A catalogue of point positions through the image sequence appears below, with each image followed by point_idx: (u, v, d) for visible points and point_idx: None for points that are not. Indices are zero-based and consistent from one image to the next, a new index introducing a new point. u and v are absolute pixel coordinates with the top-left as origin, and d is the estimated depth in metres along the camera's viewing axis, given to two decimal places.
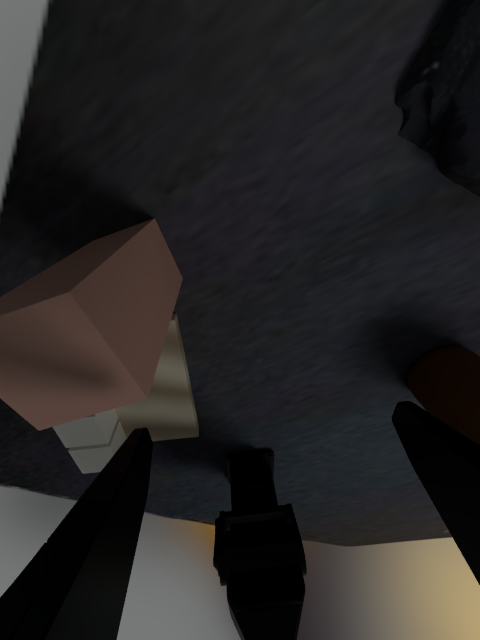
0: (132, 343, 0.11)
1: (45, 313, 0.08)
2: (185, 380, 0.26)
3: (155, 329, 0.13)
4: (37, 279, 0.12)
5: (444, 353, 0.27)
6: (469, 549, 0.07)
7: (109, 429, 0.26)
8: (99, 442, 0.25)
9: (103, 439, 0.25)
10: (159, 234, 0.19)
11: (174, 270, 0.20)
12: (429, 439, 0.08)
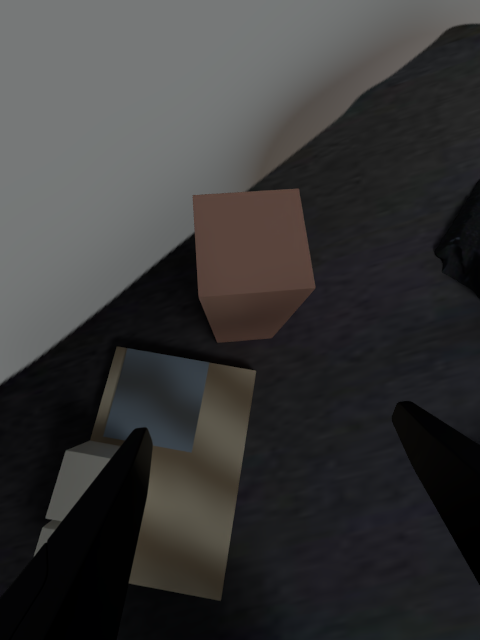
0: None
1: (276, 197, 0.12)
2: (240, 460, 0.20)
3: None
4: None
5: None
6: (469, 549, 0.07)
7: None
8: None
9: None
10: None
11: None
12: (429, 439, 0.08)
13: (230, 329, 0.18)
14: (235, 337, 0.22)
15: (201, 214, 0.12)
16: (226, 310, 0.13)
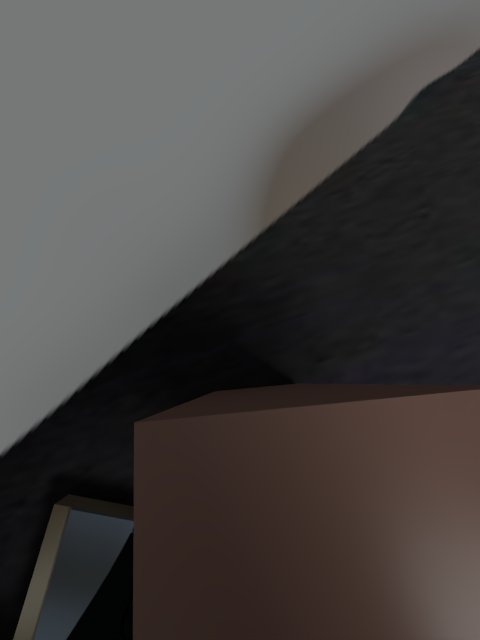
0: None
1: (441, 425, 0.03)
2: None
3: None
4: (226, 397, 0.08)
5: None
6: None
7: None
8: None
9: None
10: None
11: None
12: None
13: None
14: None
15: (163, 517, 0.03)
16: None
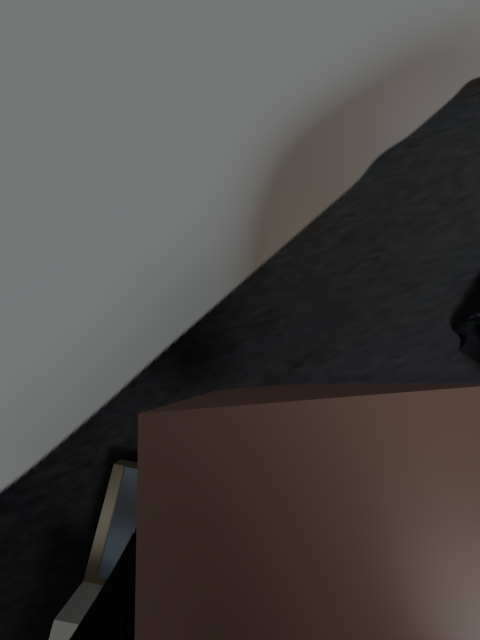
0: None
1: (437, 421, 0.03)
2: None
3: None
4: (228, 394, 0.08)
5: None
6: None
7: None
8: None
9: None
10: None
11: None
12: None
13: None
14: None
15: (165, 503, 0.03)
16: None
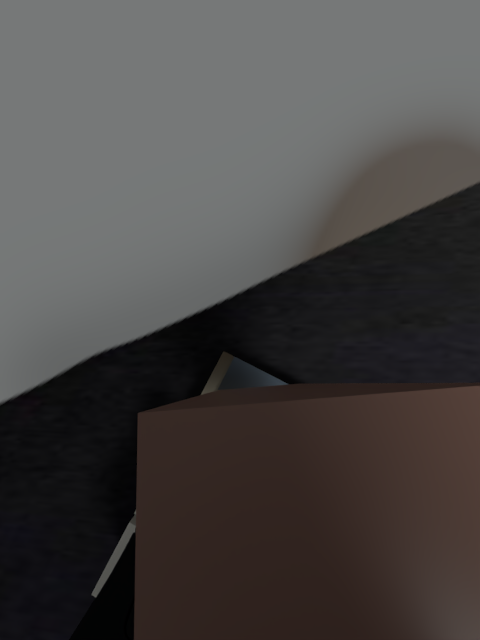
0: None
1: (439, 421, 0.03)
2: None
3: None
4: None
5: None
6: None
7: None
8: None
9: None
10: None
11: None
12: None
13: None
14: None
15: (164, 504, 0.03)
16: None
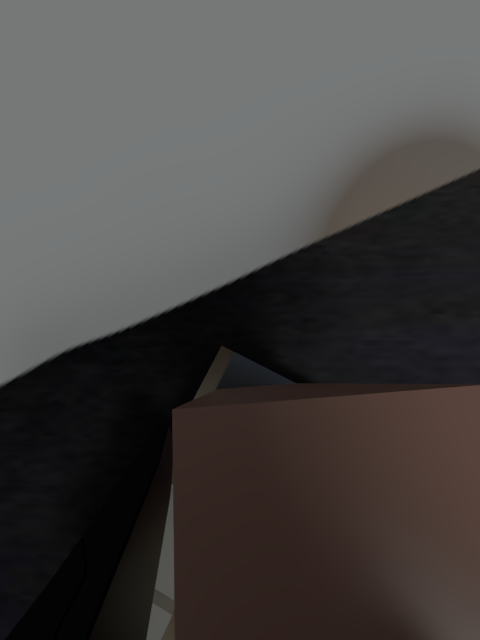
0: None
1: (423, 415, 0.04)
2: None
3: None
4: (234, 393, 0.08)
5: None
6: None
7: None
8: (165, 586, 0.12)
9: None
10: None
11: None
12: None
13: None
14: None
15: (197, 485, 0.04)
16: None
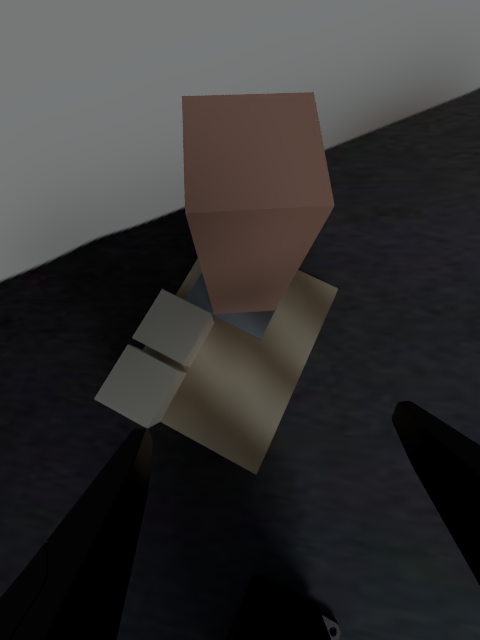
0: None
1: (285, 101, 0.10)
2: (304, 361, 0.21)
3: None
4: None
5: None
6: (469, 549, 0.07)
7: (190, 355, 0.19)
8: (174, 355, 0.18)
9: (184, 353, 0.18)
10: None
11: None
12: (429, 439, 0.08)
13: (228, 289, 0.16)
14: (234, 305, 0.19)
15: (192, 117, 0.09)
16: (222, 248, 0.11)
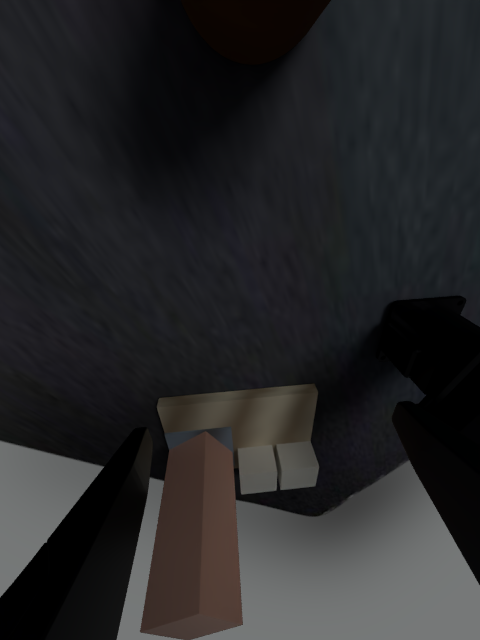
0: (178, 592, 0.18)
1: (156, 633, 0.18)
2: (228, 401, 0.26)
3: (191, 543, 0.20)
4: None
5: None
6: (469, 549, 0.07)
7: (268, 462, 0.28)
8: (274, 475, 0.28)
9: (271, 473, 0.27)
10: (176, 452, 0.28)
11: (195, 446, 0.27)
12: (429, 439, 0.08)
13: (228, 503, 0.24)
14: (224, 463, 0.27)
15: (196, 637, 0.19)
16: (232, 574, 0.20)
